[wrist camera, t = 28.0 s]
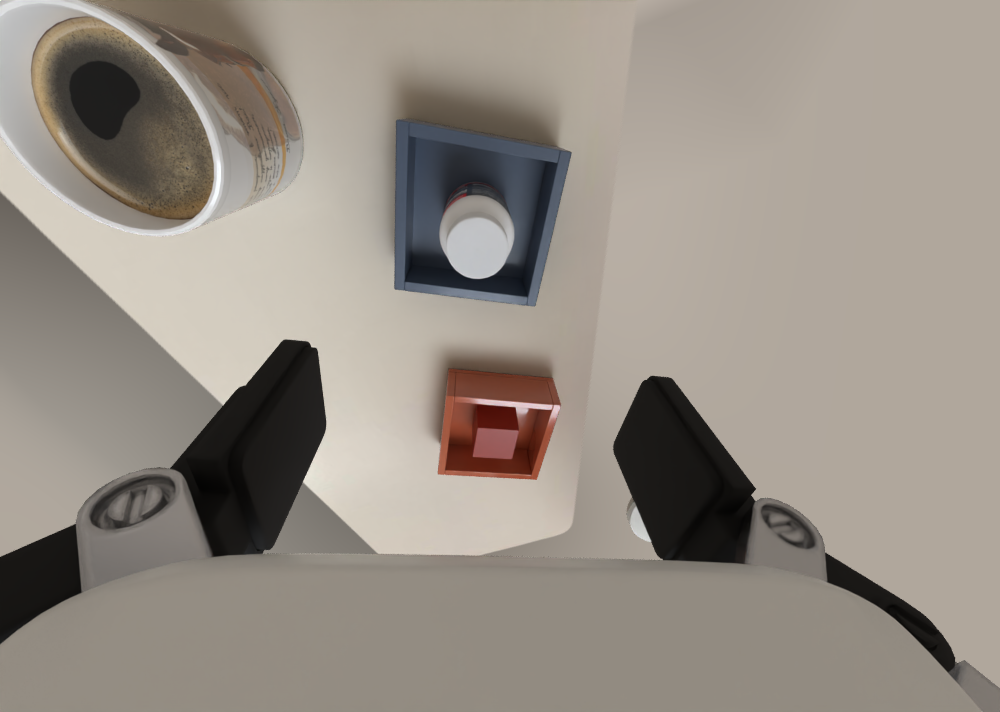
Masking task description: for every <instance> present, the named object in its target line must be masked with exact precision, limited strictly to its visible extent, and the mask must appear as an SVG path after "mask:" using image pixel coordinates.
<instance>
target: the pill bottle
mask: <svg viewBox="0 0 1000 712" xmlns="http://www.w3.org/2000/svg"><path fill="white" fill-rule="evenodd" d="M439 236H440V243H441V246H442V249H443V251H444V253H445V255H446V256H447V258H448V260H449V262H450V263H451V265H452V266H453V268H454V269H455V270H456V271H457V272H459V273H460V274H462V275H463V276H466V277H468V278H473V279H482V278H487V277H490V276H492V275H494V274H495V273H497V272H498V271H499V270H500V269H501V268H502V266H503V265H504V264H505V261H506V259H507V257H508V255H509V253H510V251H511V249H512V246H513V242H514V225H513V222H512V218H511V215H510V212H509V209H508V207H507V204H506V202H505V200H504V198H503V196H502V195H501V194H500V193H499V191H497V190H496V189H495V188H494V187H492V186H490V185H488V184H486V183H482V182H469V183H466V184H463V185H461V186H459V187H458V188H457V189H456V190H454V191H453V193H452V194H451V195H450V197H449V198H448V200H447V203H446V206H445V209H444V213H443V216H442V220H441V224H440V231H439Z"/></svg>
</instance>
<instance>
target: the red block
mask: <svg viewBox="0 0 1000 712" xmlns="http://www.w3.org/2000/svg"><path fill="white" fill-rule="evenodd" d="M518 434H519V425H518V419H517V412H516V407H506V406H494V405H481V404H476V409H475V415H474V421H473V427H472V457H483V458H499V459H512V457H513V453H514V449H515V445H516V442H517V438H518Z"/></svg>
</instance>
